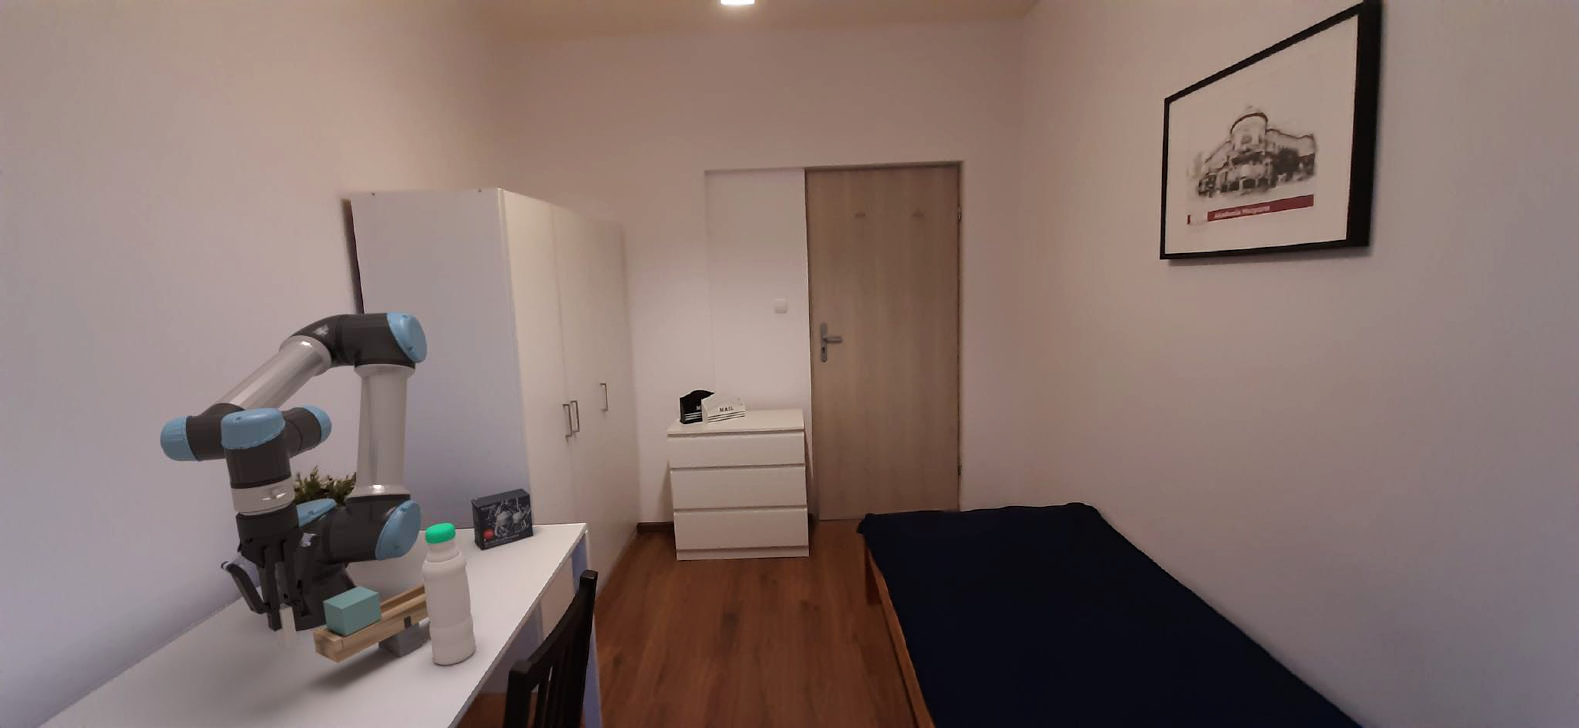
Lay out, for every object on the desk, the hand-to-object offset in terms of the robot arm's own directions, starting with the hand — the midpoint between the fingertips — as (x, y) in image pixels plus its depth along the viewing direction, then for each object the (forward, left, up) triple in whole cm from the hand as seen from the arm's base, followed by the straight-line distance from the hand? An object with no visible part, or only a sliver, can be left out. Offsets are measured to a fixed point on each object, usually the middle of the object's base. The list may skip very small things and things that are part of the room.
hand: (288, 644), depth 104 cm
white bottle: (+12, +20, -11) cm, 26 cm away
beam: (0, +17, -11) cm, 20 cm away
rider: (0, +10, -3) cm, 11 cm away
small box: (-25, +59, -11) cm, 65 cm away
